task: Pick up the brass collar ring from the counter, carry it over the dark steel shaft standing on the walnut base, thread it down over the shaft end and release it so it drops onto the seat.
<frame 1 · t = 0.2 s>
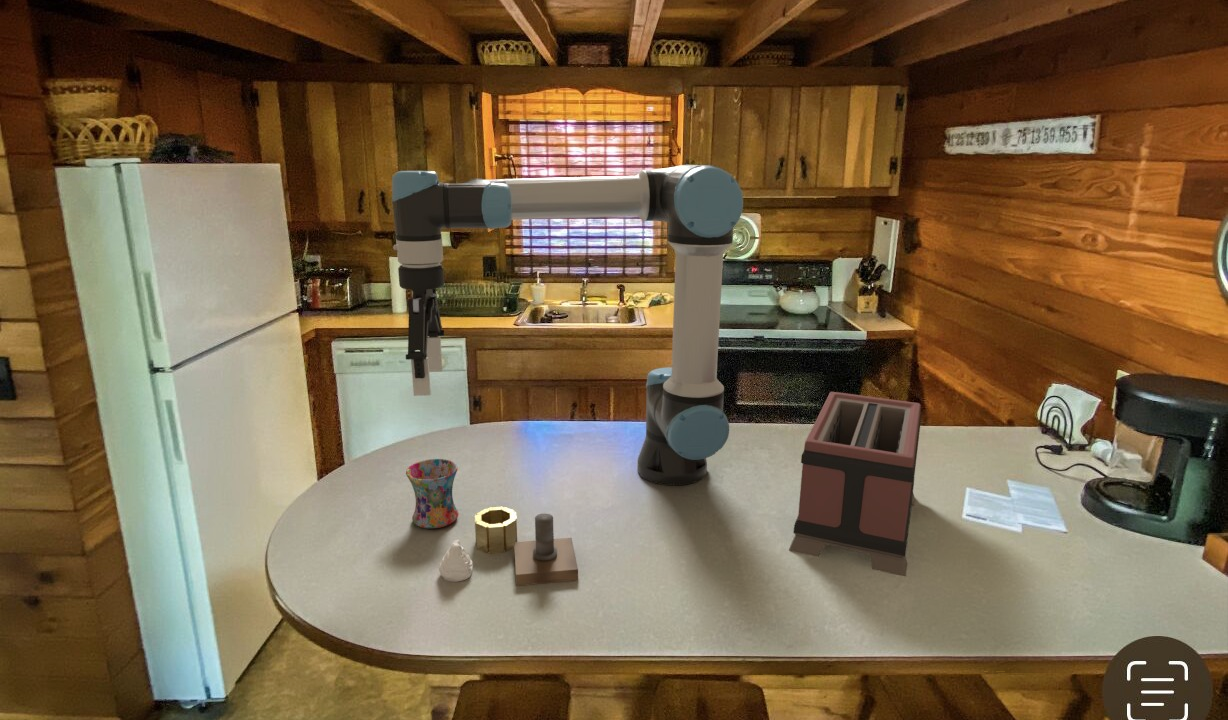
hand: (429, 382, 129), 27 cm above the kitchen counter, fingers open, 13 cm apart
toaster: (856, 519, 137), on the kitchen counter
shaft block: (545, 565, 121), on the kitchen counter
mug: (438, 517, 137), on the kitchen counter
garlic bulb: (456, 575, 119), on the kitchen counter
ring: (496, 541, 129), on the kitchen counter
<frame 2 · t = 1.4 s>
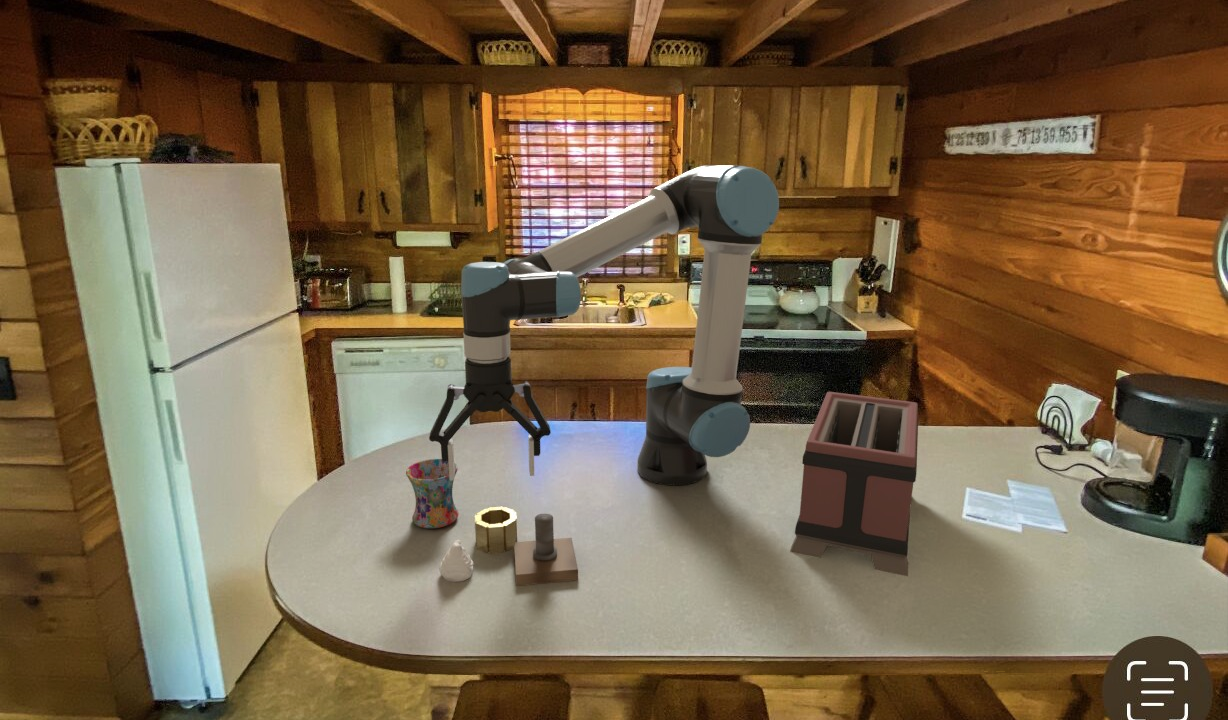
hand: (492, 474, 125), 13 cm above the kitchen counter, fingers open, 13 cm apart
nothing on the kitchen counter moved.
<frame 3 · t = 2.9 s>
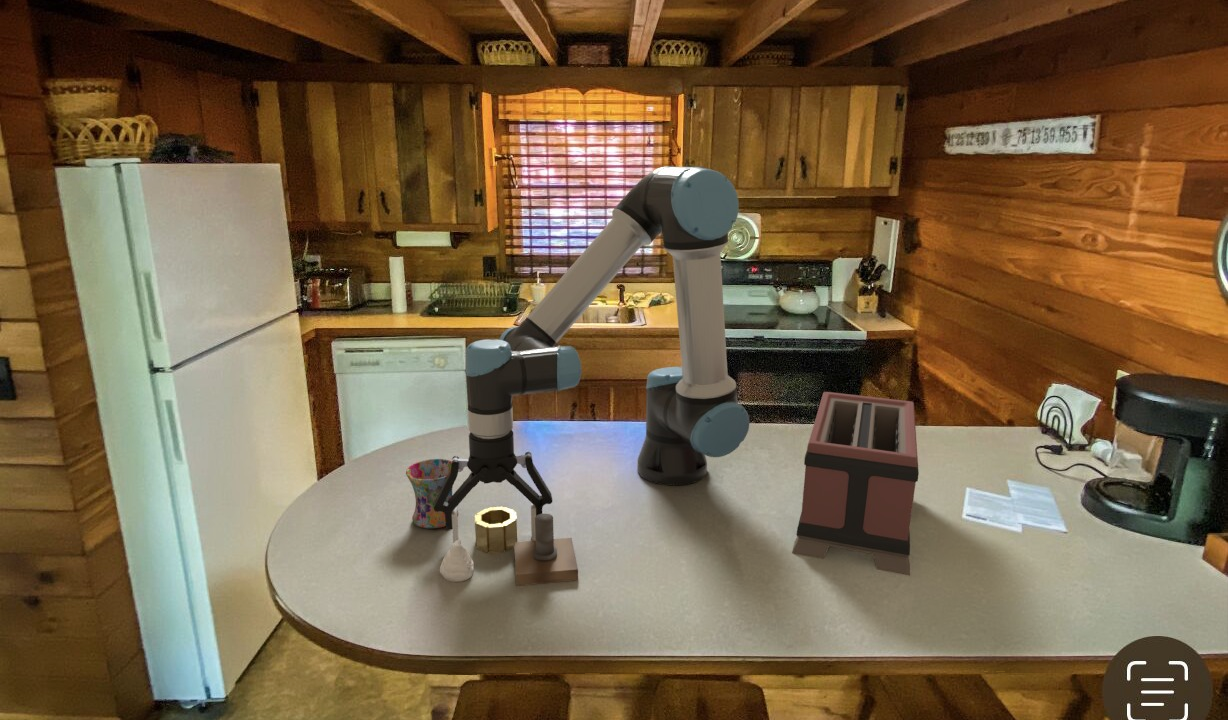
hand: (495, 541, 128), 0 cm above the kitchen counter, fingers open, 13 cm apart
nothing on the kitchen counter moved.
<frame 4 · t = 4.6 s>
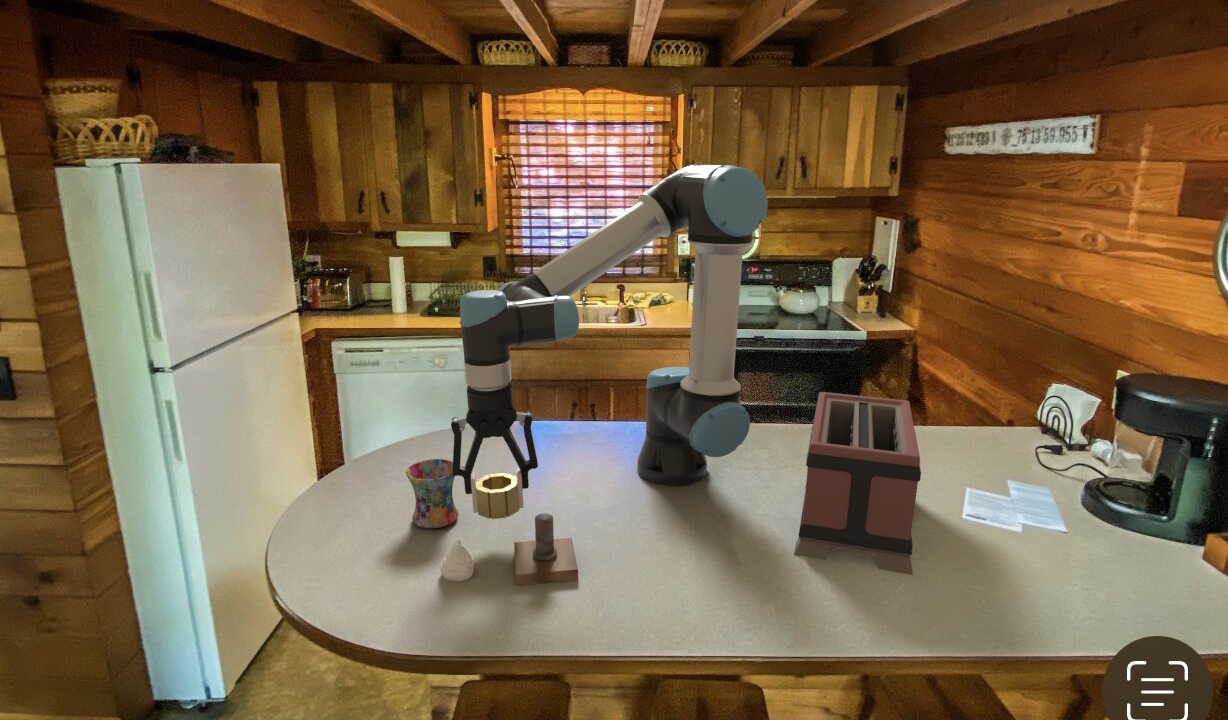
hand: (498, 506, 127), 7 cm above the kitchen counter, fingers closed on ring, 7 cm apart
ring: (498, 508, 127), point 7 cm above the kitchen counter, touching gripper
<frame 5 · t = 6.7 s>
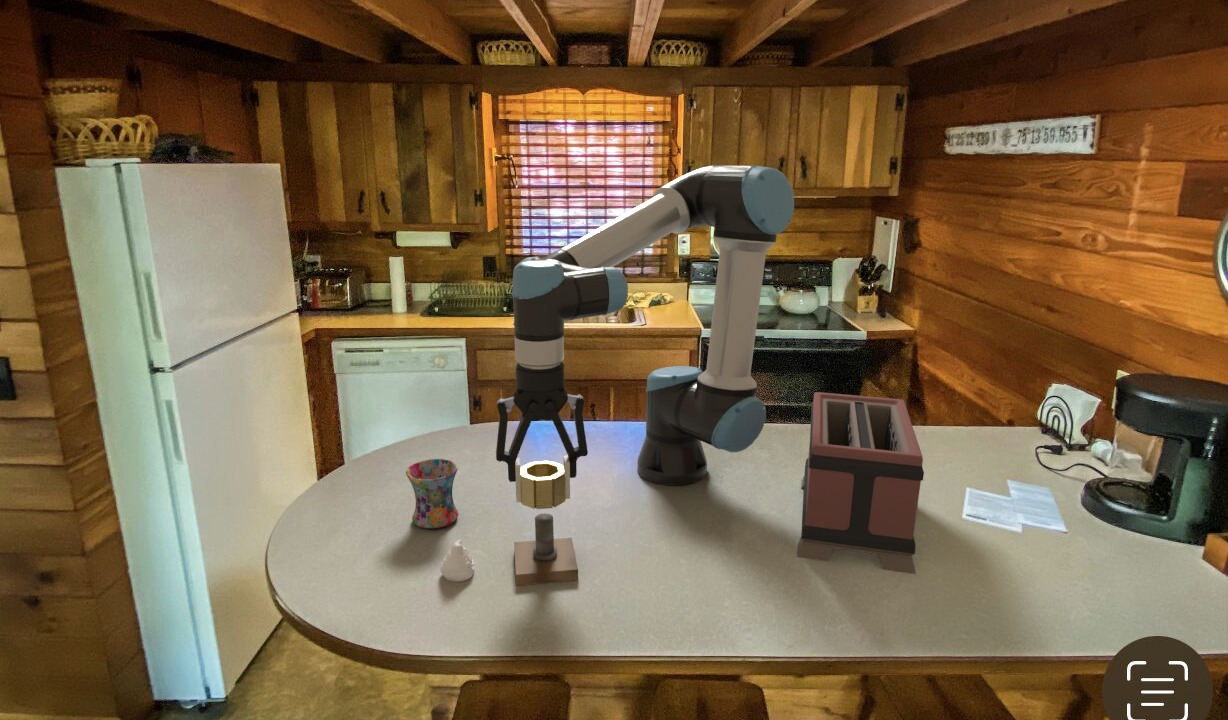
hand: (542, 496, 118), 13 cm above the kitchen counter, fingers closed on ring, 7 cm apart
ring: (542, 498, 118), point 13 cm above the kitchen counter, touching gripper
when the fingers open (5 cm above the kitchen counter, at t = 9.2 s): ring drops 2 cm, resting on shaft block.
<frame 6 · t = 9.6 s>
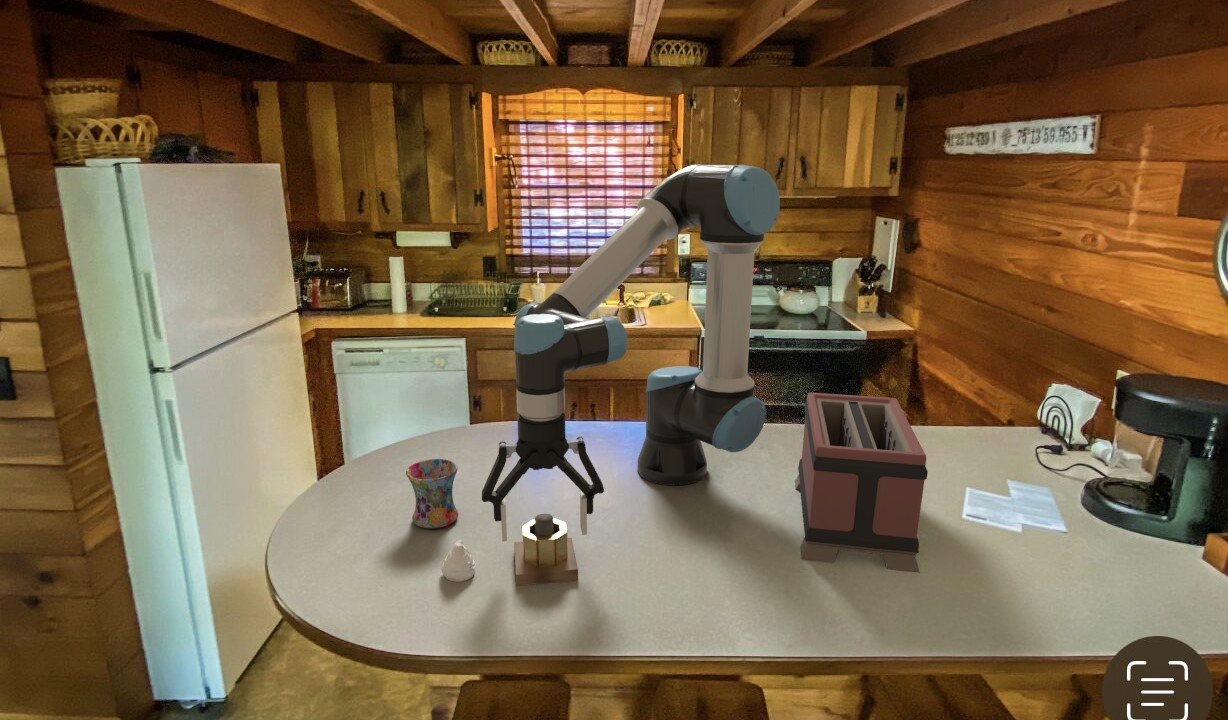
hand: (544, 534, 120), 6 cm above the kitchen counter, fingers open, 12 cm apart
ring: (545, 555, 121), point 2 cm above the kitchen counter, touching shaft block
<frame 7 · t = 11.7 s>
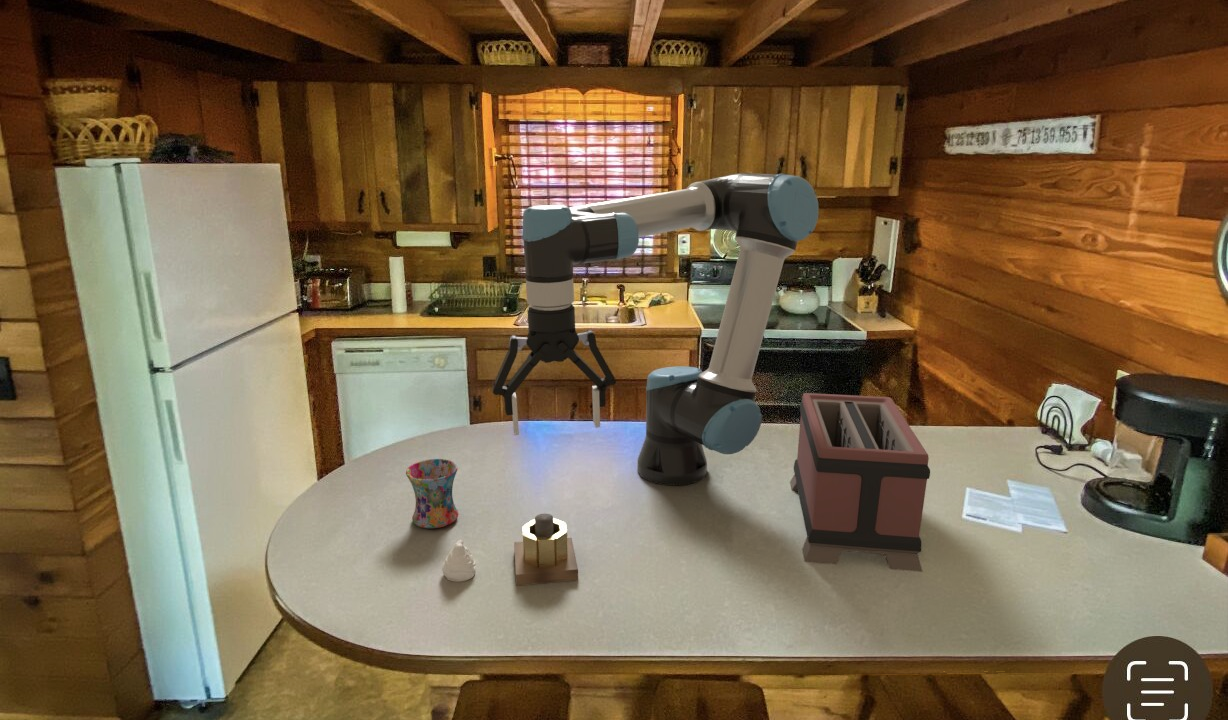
hand: (556, 428, 121), 22 cm above the kitchen counter, fingers open, 13 cm apart
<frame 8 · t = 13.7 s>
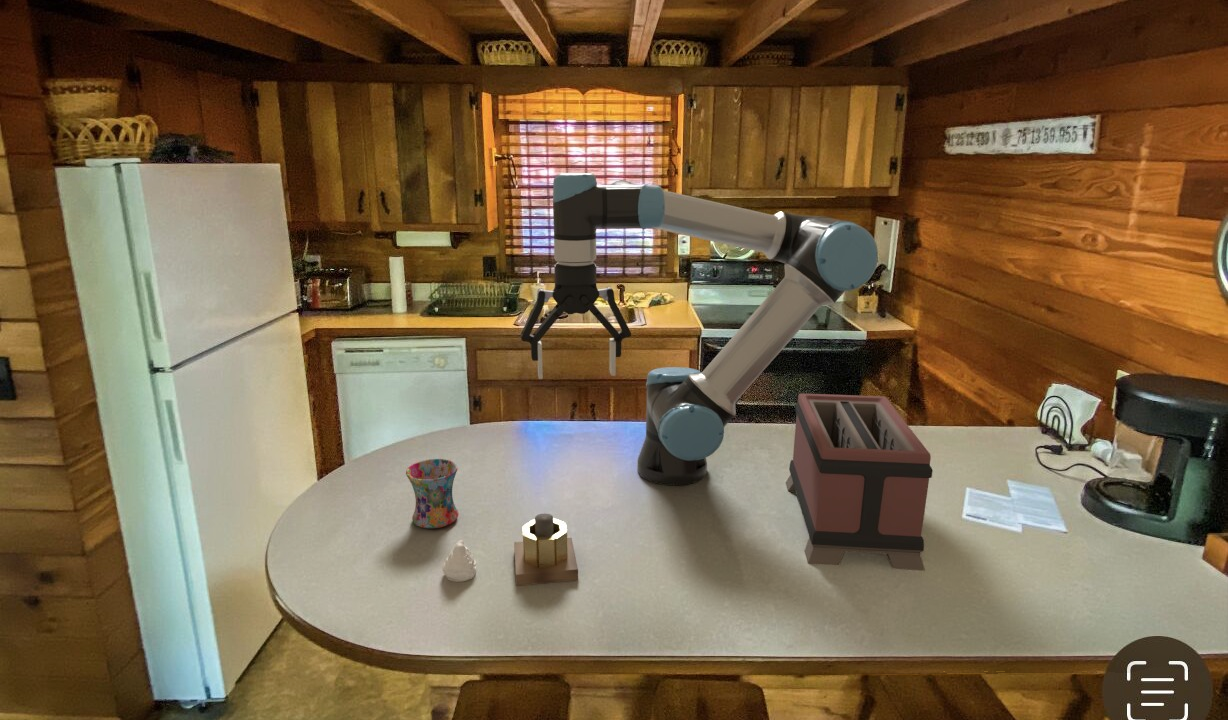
hand: (576, 375, 135), 27 cm above the kitchen counter, fingers open, 13 cm apart
at the end: ring 0.1 cm off-centre on the shaft block, point 2.0 cm above the shaft block's base; the gripper is holding nothing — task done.
